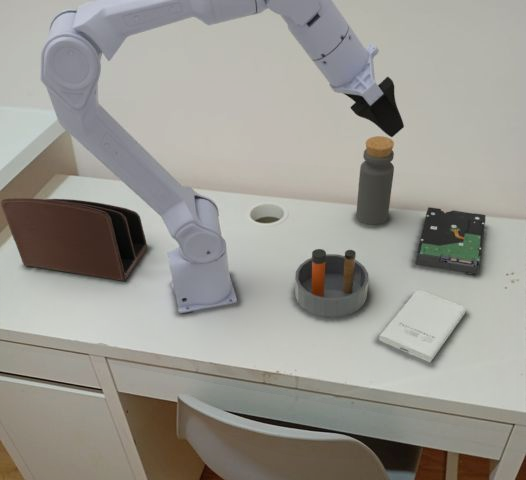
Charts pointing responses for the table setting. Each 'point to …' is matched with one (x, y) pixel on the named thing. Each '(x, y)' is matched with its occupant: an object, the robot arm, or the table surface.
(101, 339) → the table surface
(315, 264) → the marker
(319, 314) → the pot
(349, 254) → the brown slender rod
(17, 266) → the table surface
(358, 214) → the bottle
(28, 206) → the letter holder
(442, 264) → the disk drive
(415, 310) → the hard drive
